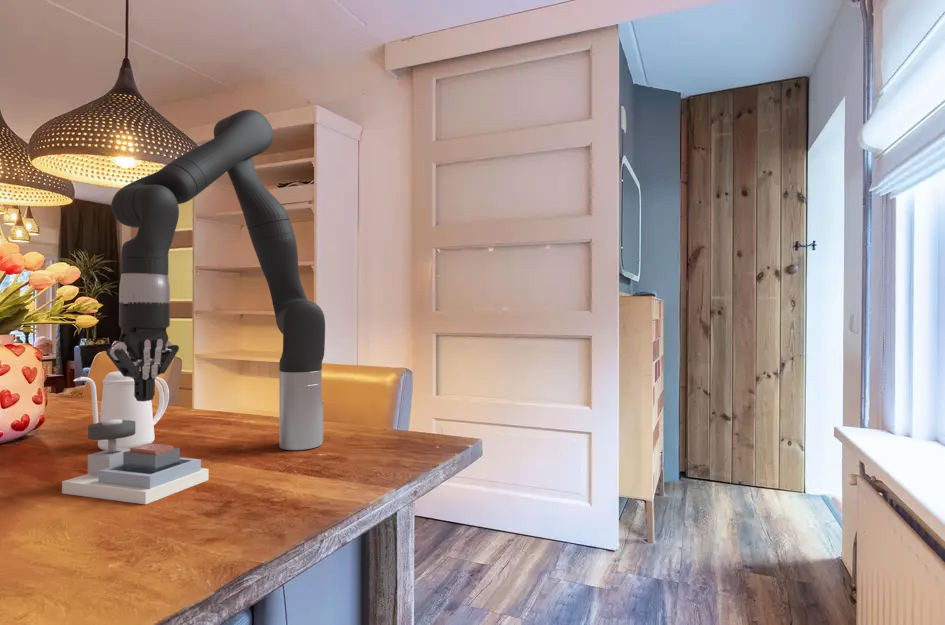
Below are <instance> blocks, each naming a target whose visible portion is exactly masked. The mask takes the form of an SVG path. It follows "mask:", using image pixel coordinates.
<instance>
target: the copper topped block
mask: <svg viewBox="0 0 945 625" xmlns="http://www.w3.org/2000/svg"><path fill="white" fill-rule="evenodd" d="M180 455H181V448H178V447H174V445H171V444H158V443H148V444H144V445H140V446H136V447H133V448H130V451H126V452H123V471H126V472H135V473H144V474H153V473H156V472H159V471H162V470H165V469H168V468H171V467H174V466H177V465H180V457H181V456H180Z"/></svg>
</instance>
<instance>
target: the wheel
mask: <svg viewBox="0 0 945 625" xmlns="http://www.w3.org/2000/svg"><path fill="white" fill-rule="evenodd" d="M134 434H135V421H131V420H122V419H112V420H105V421H102V422H100V421H99V422H98V423H95V424H94V423H92V424H90V425H88V426H87V439H88V440H91V441H98V440H108V454H114V453H116V439H118V438H124V437H128V436H132V435H134Z"/></svg>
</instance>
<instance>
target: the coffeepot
mask: <svg viewBox="0 0 945 625" xmlns="http://www.w3.org/2000/svg"><path fill="white" fill-rule="evenodd" d="M73 382H86V383H88V384H89V385H90V392H91V406H92V418H93V419H92V421H93V423H92V424H95V423H100V422H102V421H105V420H112V419H122V420H131V421H135V434H134V435H132V436H128V437H124V438H118V439H116V448H121V449H130V448H133V447H136V446H140V445H144V444H148V443H151V444H153V442H154V441H155V428H154V426H155V425H156V424H157V423H158V422H159V421H160V419H162V417H163V415H164V413H165V412H166V409H167V407H168V404H169V399H170V389H169V386H168V383H167V382H166V381H165V379H163V378H161V377H159V376H157V377H156V378H155V387H156V388H157V390H158V397H159V398H158V400H159V402H158V406H157V411H156V413H155V414H153V404H152V403H153V402H152V401H153V400H150V401H137V400H136V398H135V396H134V390H135V389H134V379H133V378H131V377H124V376H123V375H122V373H121V372H120V371H119V370H115V371H111V372H108V373H107V374H106V375H105V377H104V379H102V380H101V384H103V385H102V396H101V406H100V415H99V413H98V412H99V411H98V398H97V397H98V395H97V385H96V383H95V381H94V380H93V378H90V377H87V376H79V377H77V378H74V379H73ZM161 384H162V385H161ZM153 415H154V416H153ZM99 416H100V417H99ZM97 446H98V448H99V449H101V451H104V450H108V440H97Z"/></svg>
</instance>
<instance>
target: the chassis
mask: <svg viewBox="0 0 945 625" xmlns="http://www.w3.org/2000/svg"><path fill="white" fill-rule="evenodd" d="M126 451H130V449H121V448H116V453H114V454H108V450H100V451H96V452H93V453H89V454H87V473H86V474H83V475H80V476H76V477H72V478H70V479H65V480H63V481H61V494H66V495H72V496H80V497H86V498H95V499H101V500H110V501H115V502H116V501H117V502H125V503H132V504H140V505H147V504H151V503H154V502H156V501H158V500H161V499H163V498H166V497H168V496H171V495H173V494H176V493H178V492H181V491H184V490H186V489H189V488H192V487H195V486H197V485H199V484H201V483H204V482H207V481H209V475H210V473H209V470H210V469H209V468H203V467H202V459H198V458H190V457H181V456H180V465H177V466H174V467H171V468H168V469H165V470H162V471H159V472H156V473H153V474H144V473H135V472H126V471H123V452H126Z"/></svg>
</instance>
